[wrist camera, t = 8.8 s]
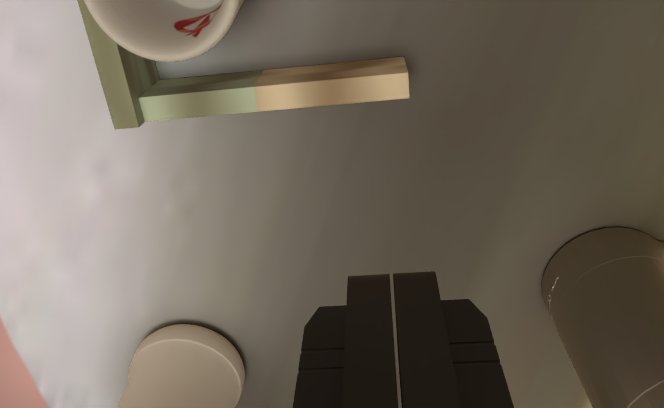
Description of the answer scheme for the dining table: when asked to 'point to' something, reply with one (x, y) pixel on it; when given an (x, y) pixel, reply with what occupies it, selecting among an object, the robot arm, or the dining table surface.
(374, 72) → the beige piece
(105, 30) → the cup
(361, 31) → the dining table surface
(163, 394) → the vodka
